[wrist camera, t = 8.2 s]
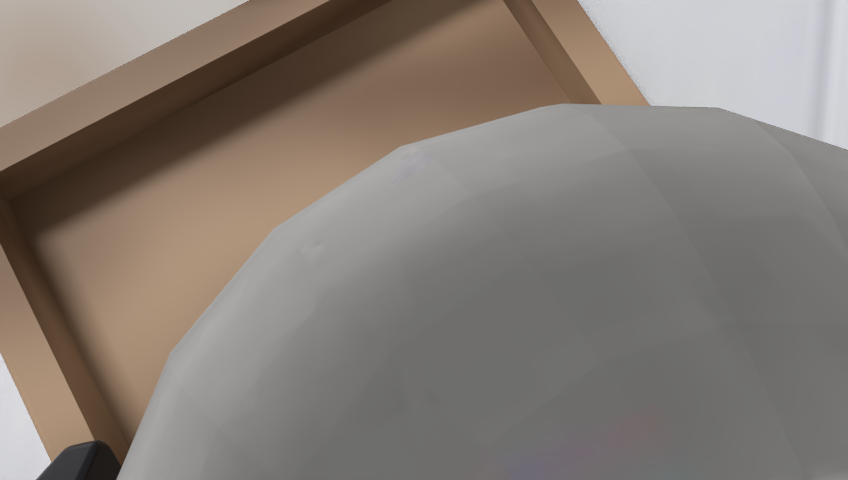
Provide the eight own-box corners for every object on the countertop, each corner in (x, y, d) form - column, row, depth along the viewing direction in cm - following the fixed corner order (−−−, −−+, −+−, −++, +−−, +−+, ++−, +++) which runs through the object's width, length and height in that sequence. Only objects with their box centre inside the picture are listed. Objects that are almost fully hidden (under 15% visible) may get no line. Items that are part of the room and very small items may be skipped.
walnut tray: (900, 555, 18) (979, 583, 15) (338, 946, 16) (324, 1049, 13) (482, -64, 21) (491, -124, 19) (-21, 198, 19) (-84, 171, 17)
